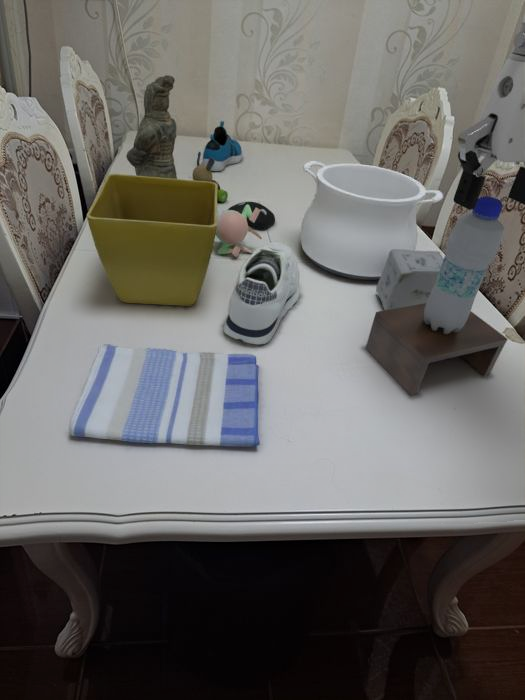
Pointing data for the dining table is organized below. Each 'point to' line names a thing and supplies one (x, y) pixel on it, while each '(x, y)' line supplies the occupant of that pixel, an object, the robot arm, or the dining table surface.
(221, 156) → the shoe
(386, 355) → the shelf
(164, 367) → the dish towel
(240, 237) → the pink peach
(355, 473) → the dining table surface
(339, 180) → the pot
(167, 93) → the statue
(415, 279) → the white printed box
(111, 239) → the flower pot
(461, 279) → the bottle
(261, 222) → the computer mouse
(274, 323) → the running shoe
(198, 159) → the tan rounded piece
